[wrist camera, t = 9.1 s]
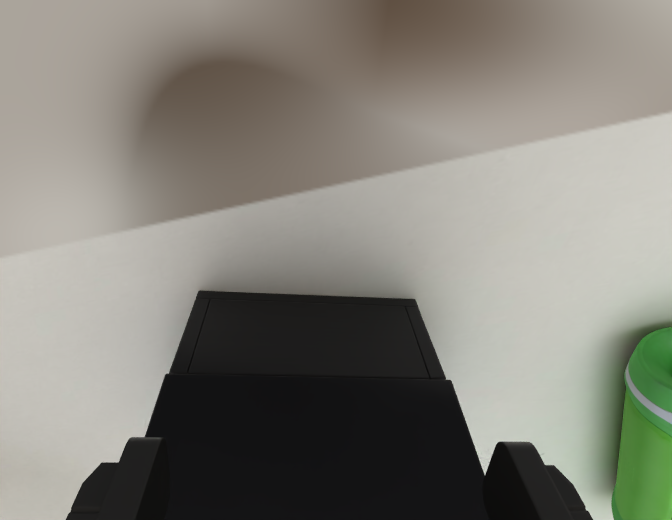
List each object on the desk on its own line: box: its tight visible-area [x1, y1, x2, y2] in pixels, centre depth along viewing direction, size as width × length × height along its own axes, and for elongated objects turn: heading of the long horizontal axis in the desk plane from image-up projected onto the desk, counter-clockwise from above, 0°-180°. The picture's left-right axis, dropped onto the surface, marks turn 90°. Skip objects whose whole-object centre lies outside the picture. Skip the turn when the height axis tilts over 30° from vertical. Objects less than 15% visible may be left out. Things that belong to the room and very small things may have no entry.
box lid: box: [145, 374, 489, 520], centre depth 14 cm, size 12×13×5 cm
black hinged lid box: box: [169, 291, 446, 380], centre depth 27 cm, size 12×13×7 cm
